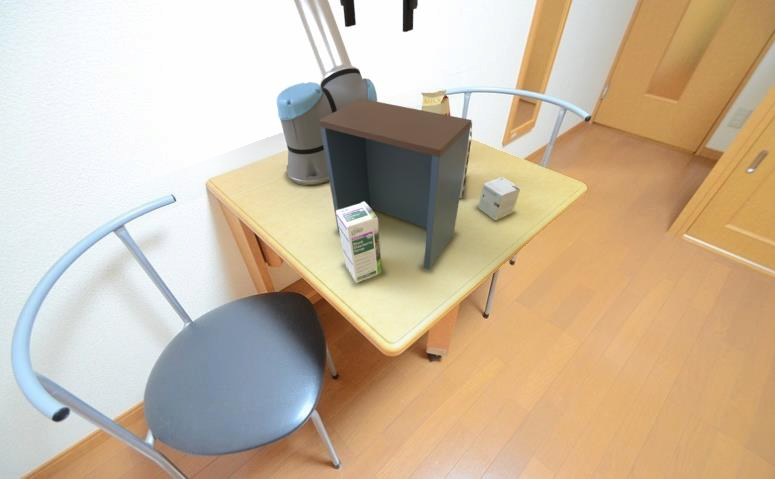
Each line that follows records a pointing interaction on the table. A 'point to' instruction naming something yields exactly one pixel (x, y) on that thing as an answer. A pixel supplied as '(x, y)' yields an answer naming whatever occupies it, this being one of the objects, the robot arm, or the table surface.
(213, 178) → the table surface
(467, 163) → the candy bar box
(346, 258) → the syrup box
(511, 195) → the product carton
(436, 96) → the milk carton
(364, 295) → the table surface
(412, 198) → the cupboard
